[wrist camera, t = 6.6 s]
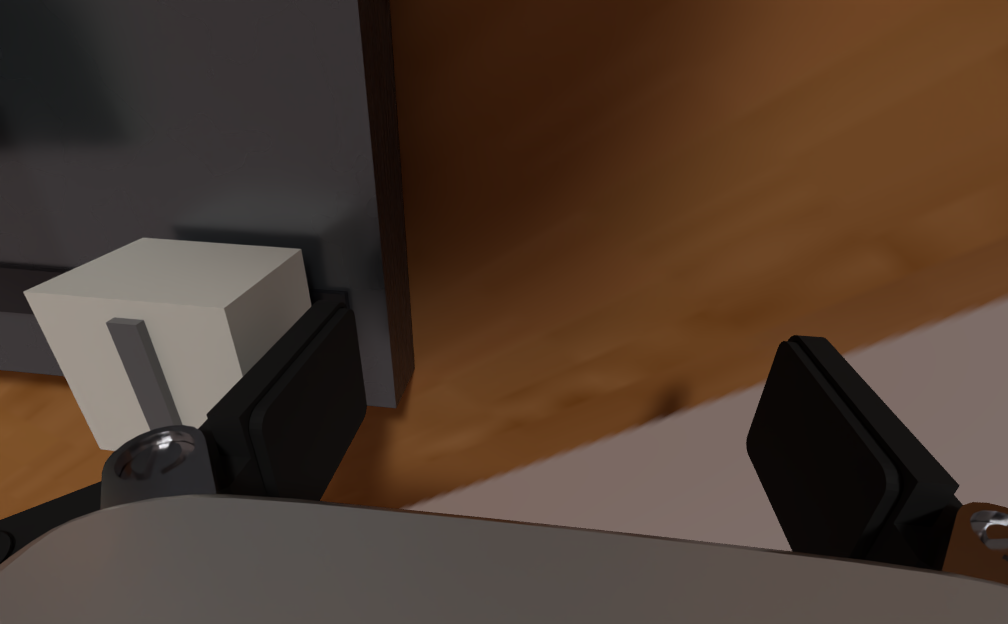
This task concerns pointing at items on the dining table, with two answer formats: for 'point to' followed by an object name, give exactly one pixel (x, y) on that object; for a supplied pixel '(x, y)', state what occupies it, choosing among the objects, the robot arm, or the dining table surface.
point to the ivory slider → (166, 328)
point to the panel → (205, 151)
